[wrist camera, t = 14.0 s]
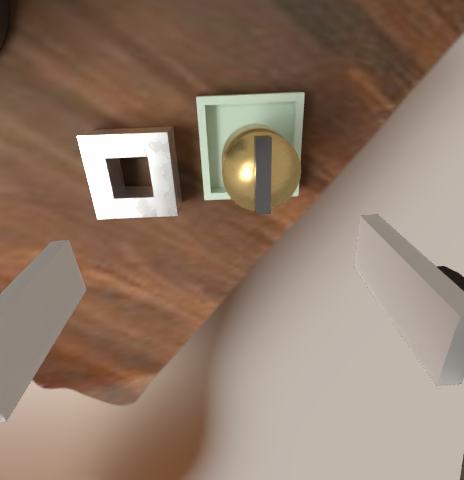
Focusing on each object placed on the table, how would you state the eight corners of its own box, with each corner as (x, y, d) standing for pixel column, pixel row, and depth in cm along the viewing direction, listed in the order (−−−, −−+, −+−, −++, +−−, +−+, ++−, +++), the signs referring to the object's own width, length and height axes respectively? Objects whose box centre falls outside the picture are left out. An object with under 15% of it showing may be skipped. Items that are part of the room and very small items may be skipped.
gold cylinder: (222, 175, 38) (224, 218, 26) (219, 118, 35) (220, 137, 23) (276, 172, 38) (302, 214, 26) (277, 115, 35) (307, 133, 23)
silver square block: (93, 129, 36) (76, 136, 32) (173, 126, 36) (167, 132, 32) (110, 205, 40) (97, 219, 36) (182, 201, 40) (177, 215, 36)
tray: (197, 95, 34) (196, 97, 32) (299, 91, 34) (304, 92, 32) (205, 193, 39) (204, 200, 37) (294, 189, 39) (298, 196, 37)
